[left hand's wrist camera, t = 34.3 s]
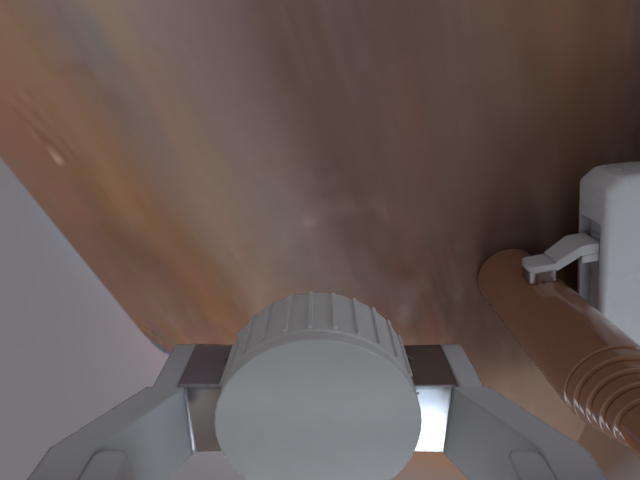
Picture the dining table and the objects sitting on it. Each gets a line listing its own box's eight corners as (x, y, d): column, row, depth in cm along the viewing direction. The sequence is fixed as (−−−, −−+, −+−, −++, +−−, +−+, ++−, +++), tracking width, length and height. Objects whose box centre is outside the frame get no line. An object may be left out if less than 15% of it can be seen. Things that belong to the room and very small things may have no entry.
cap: (297, 460, 12) (292, 531, 10) (193, 347, 10) (166, 406, 8) (438, 387, 11) (462, 450, 9) (344, 254, 9) (348, 297, 8)
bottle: (469, 263, 38) (620, 448, 19) (529, 238, 37) (748, 406, 18) (487, 312, 40) (641, 524, 21) (545, 289, 39) (758, 488, 20)
